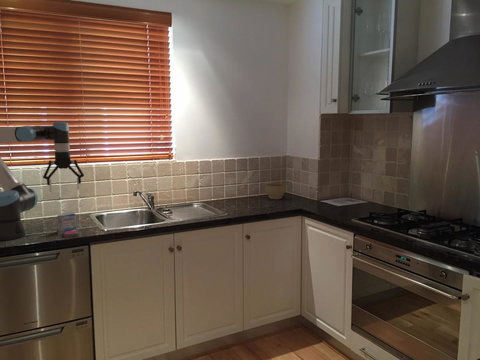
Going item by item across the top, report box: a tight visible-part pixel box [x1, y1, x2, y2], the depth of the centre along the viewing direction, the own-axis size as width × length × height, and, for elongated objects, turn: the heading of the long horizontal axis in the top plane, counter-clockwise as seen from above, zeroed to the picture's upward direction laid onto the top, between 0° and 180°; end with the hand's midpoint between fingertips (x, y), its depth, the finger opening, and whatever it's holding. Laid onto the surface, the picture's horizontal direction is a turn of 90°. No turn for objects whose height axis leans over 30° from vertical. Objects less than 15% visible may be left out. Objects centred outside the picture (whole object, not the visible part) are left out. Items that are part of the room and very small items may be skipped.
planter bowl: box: [264, 182, 287, 200], centre depth 317 cm, size 16×16×11 cm
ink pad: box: [63, 229, 79, 238], centre depth 218 cm, size 7×7×2 cm
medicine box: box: [57, 212, 77, 232], centre depth 227 cm, size 8×4×9 cm, turn 145°
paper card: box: [57, 225, 78, 235], centre depth 227 cm, size 10×13×1 cm
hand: (64, 190), depth 224 cm, fingers open, 13 cm apart
